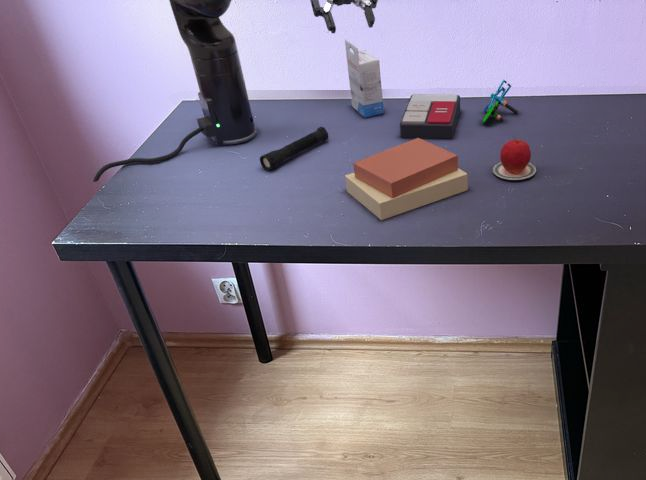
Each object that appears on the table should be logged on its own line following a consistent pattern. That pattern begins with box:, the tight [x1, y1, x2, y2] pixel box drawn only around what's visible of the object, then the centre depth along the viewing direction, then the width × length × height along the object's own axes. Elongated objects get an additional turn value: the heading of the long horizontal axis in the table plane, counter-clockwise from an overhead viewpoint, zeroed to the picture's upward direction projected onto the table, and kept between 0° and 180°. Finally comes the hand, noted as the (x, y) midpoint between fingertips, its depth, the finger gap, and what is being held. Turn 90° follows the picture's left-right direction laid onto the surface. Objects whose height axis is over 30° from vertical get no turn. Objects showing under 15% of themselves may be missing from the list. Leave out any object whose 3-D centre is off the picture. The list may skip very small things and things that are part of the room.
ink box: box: [344, 38, 385, 119], centre depth 146 cm, size 8×5×15 cm, turn 26°
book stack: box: [344, 138, 469, 221], centre depth 118 cm, size 18×13×6 cm
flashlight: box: [259, 126, 329, 172], centre depth 133 cm, size 3×16×3 cm, turn 144°
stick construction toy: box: [482, 79, 519, 124], centre depth 143 cm, size 12×7×8 cm
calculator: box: [399, 93, 461, 140], centre depth 141 cm, size 11×4×15 cm
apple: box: [492, 136, 537, 181], centre depth 122 cm, size 8×8×6 cm
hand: (353, 28), depth 143 cm, fingers open, 8 cm apart
